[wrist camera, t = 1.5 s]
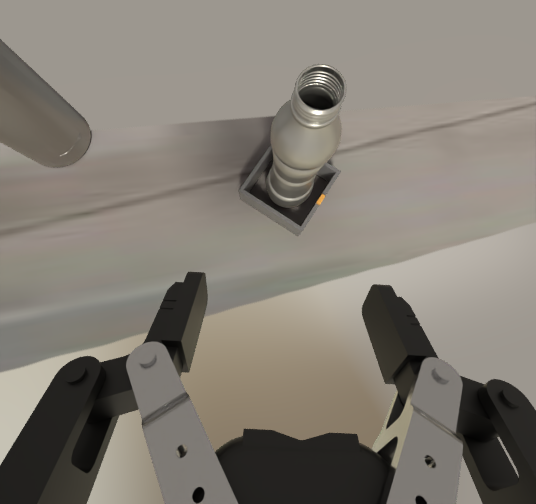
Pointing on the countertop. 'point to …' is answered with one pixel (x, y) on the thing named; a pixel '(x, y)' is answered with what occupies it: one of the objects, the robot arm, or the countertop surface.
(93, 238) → the countertop surface
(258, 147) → the countertop surface
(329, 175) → the socket collar
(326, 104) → the silver metal bottle
